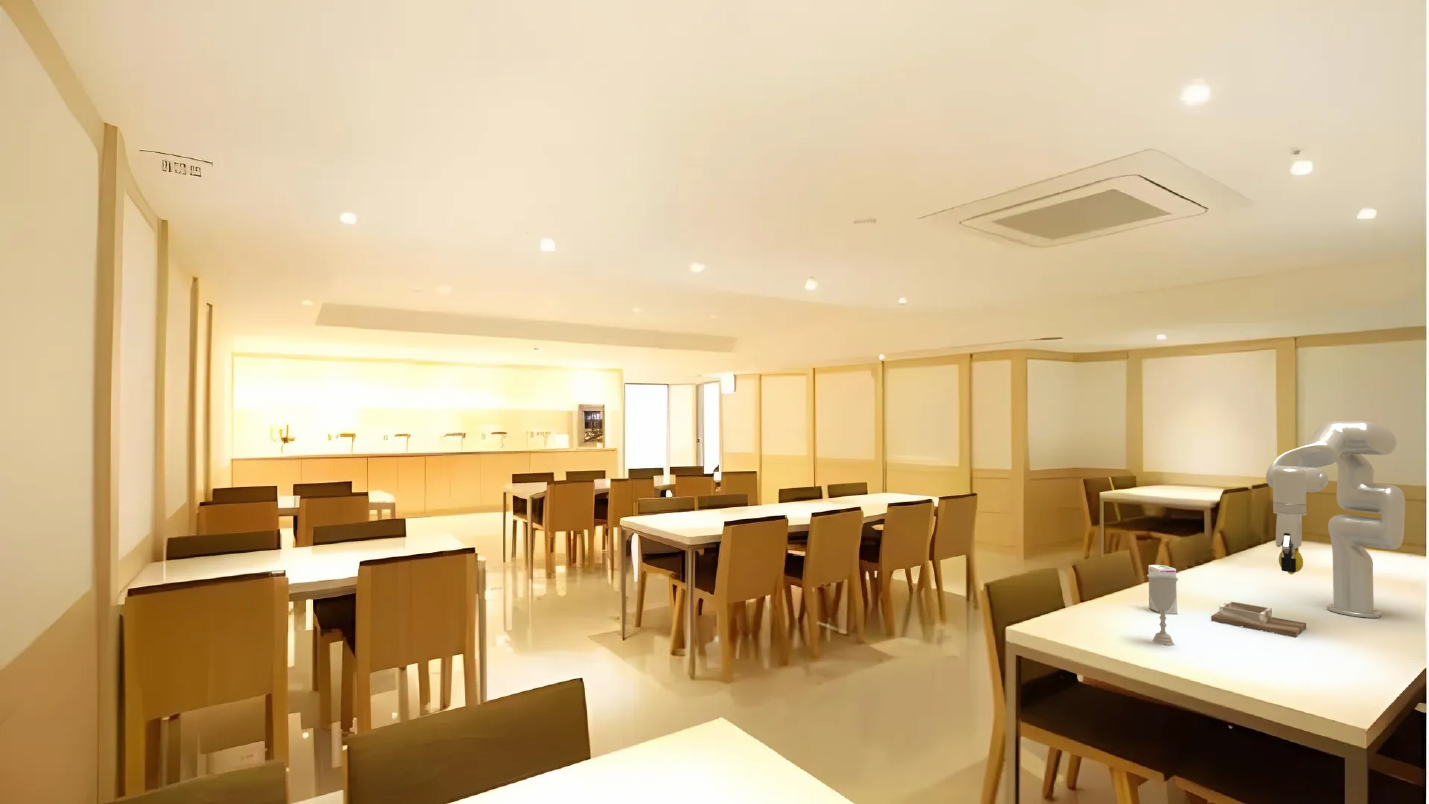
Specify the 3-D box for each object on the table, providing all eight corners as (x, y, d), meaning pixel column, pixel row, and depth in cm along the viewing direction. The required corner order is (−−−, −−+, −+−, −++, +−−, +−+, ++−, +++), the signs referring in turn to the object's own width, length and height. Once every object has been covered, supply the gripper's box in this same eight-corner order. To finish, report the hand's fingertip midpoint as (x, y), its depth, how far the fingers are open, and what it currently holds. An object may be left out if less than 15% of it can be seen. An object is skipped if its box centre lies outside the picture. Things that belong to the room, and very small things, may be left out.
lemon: (1308, 577, 196) (1307, 549, 197) (1286, 575, 197) (1286, 548, 198) (1295, 573, 202) (1294, 546, 202) (1274, 572, 203) (1274, 545, 203)
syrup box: (1178, 614, 214) (1177, 568, 215) (1159, 613, 214) (1158, 568, 215) (1166, 609, 220) (1165, 564, 220) (1148, 609, 220) (1147, 564, 220)
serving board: (1224, 613, 216) (1224, 599, 216) (1306, 628, 200) (1305, 613, 200) (1211, 620, 207) (1211, 606, 207) (1295, 637, 191) (1295, 621, 192)
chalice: (1151, 644, 184) (1150, 578, 184) (1144, 637, 190) (1144, 573, 191) (1182, 647, 181) (1181, 580, 182) (1175, 640, 188) (1174, 575, 188)
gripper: (1278, 505, 209) (1279, 564, 208) (1267, 510, 197) (1268, 571, 197) (1310, 508, 203) (1311, 568, 203) (1301, 512, 192) (1302, 576, 191)
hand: (1290, 569), depth 200 cm, fingers closed on lemon, 5 cm apart
